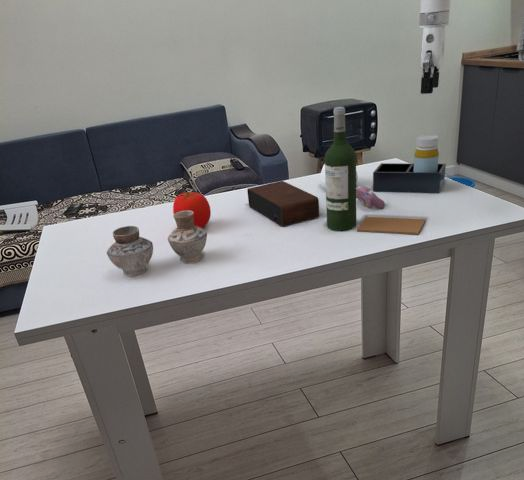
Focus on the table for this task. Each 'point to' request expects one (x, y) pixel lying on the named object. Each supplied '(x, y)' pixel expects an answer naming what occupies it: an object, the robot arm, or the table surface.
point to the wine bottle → (340, 178)
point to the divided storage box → (407, 179)
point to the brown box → (283, 203)
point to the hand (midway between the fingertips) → (429, 90)
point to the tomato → (193, 207)
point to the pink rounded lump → (369, 198)
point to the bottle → (426, 154)
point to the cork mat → (391, 225)
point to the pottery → (140, 249)
